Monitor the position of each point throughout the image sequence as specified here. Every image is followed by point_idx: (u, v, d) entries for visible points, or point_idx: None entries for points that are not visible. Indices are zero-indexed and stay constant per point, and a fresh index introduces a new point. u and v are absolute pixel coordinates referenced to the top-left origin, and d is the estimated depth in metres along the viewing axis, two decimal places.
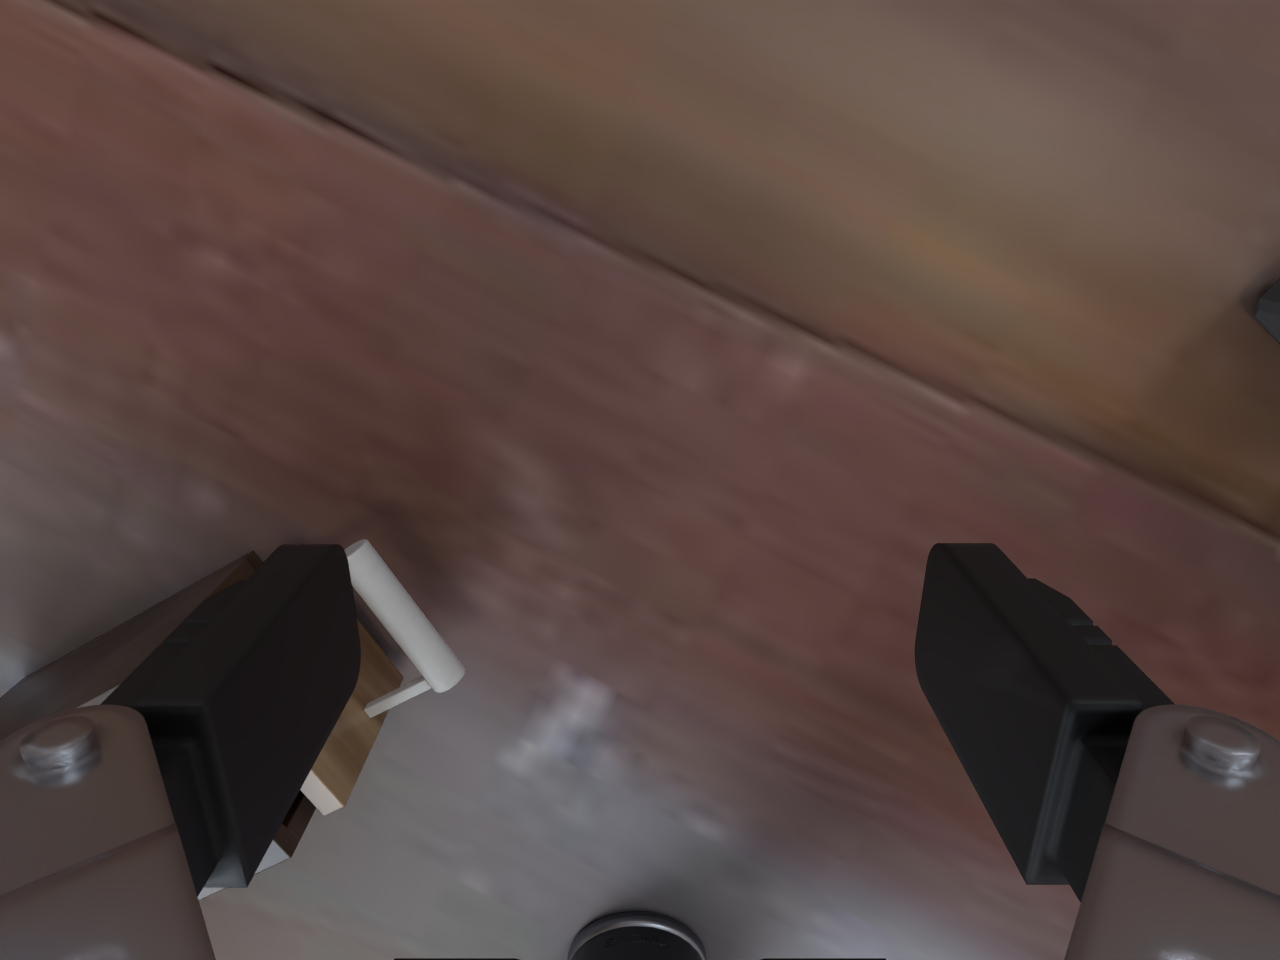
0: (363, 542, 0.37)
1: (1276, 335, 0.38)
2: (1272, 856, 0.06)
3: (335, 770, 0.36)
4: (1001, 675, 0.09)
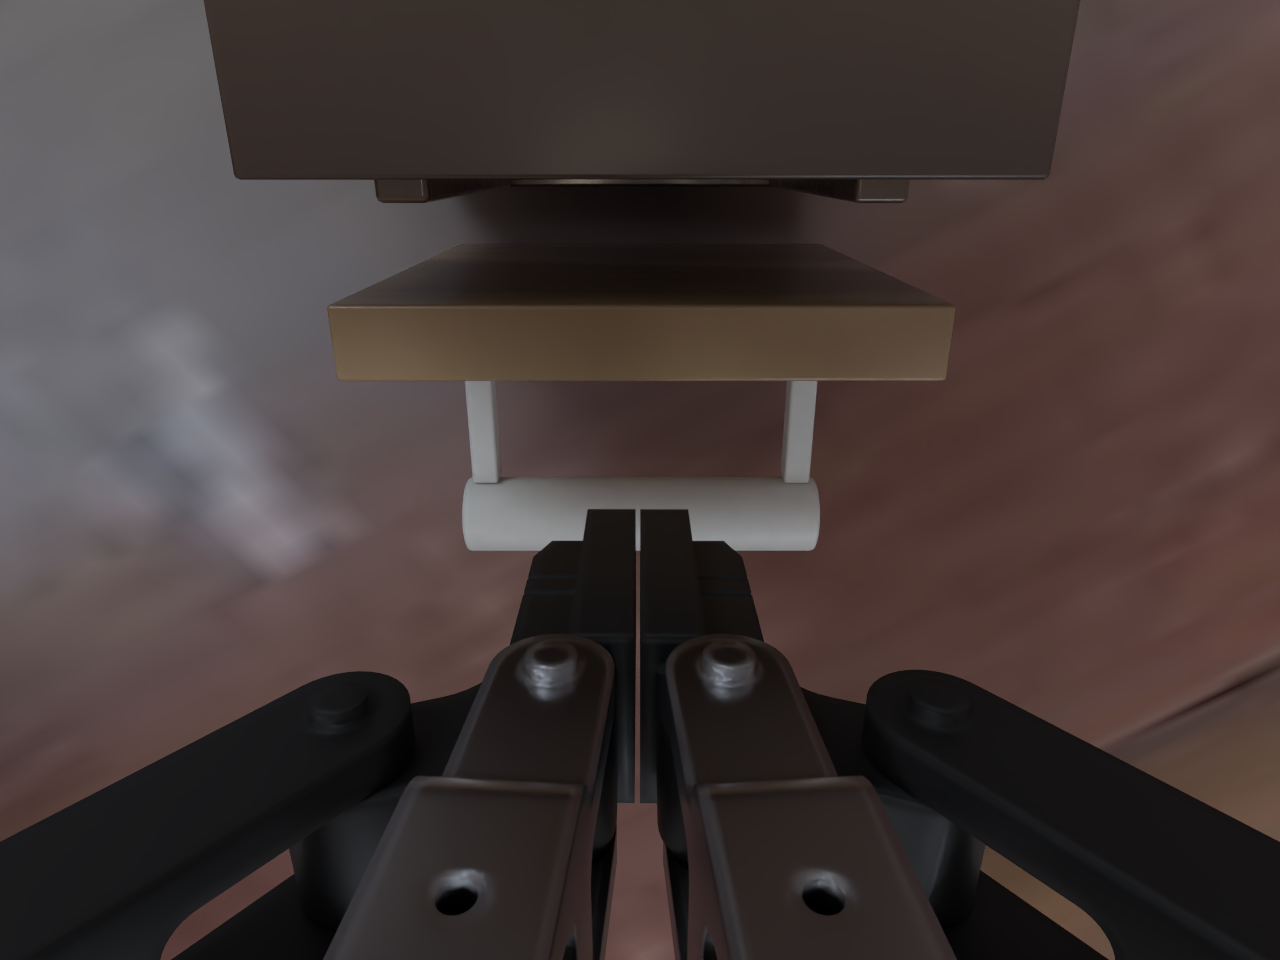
0: None
1: None
2: (702, 748, 0.07)
3: None
4: None
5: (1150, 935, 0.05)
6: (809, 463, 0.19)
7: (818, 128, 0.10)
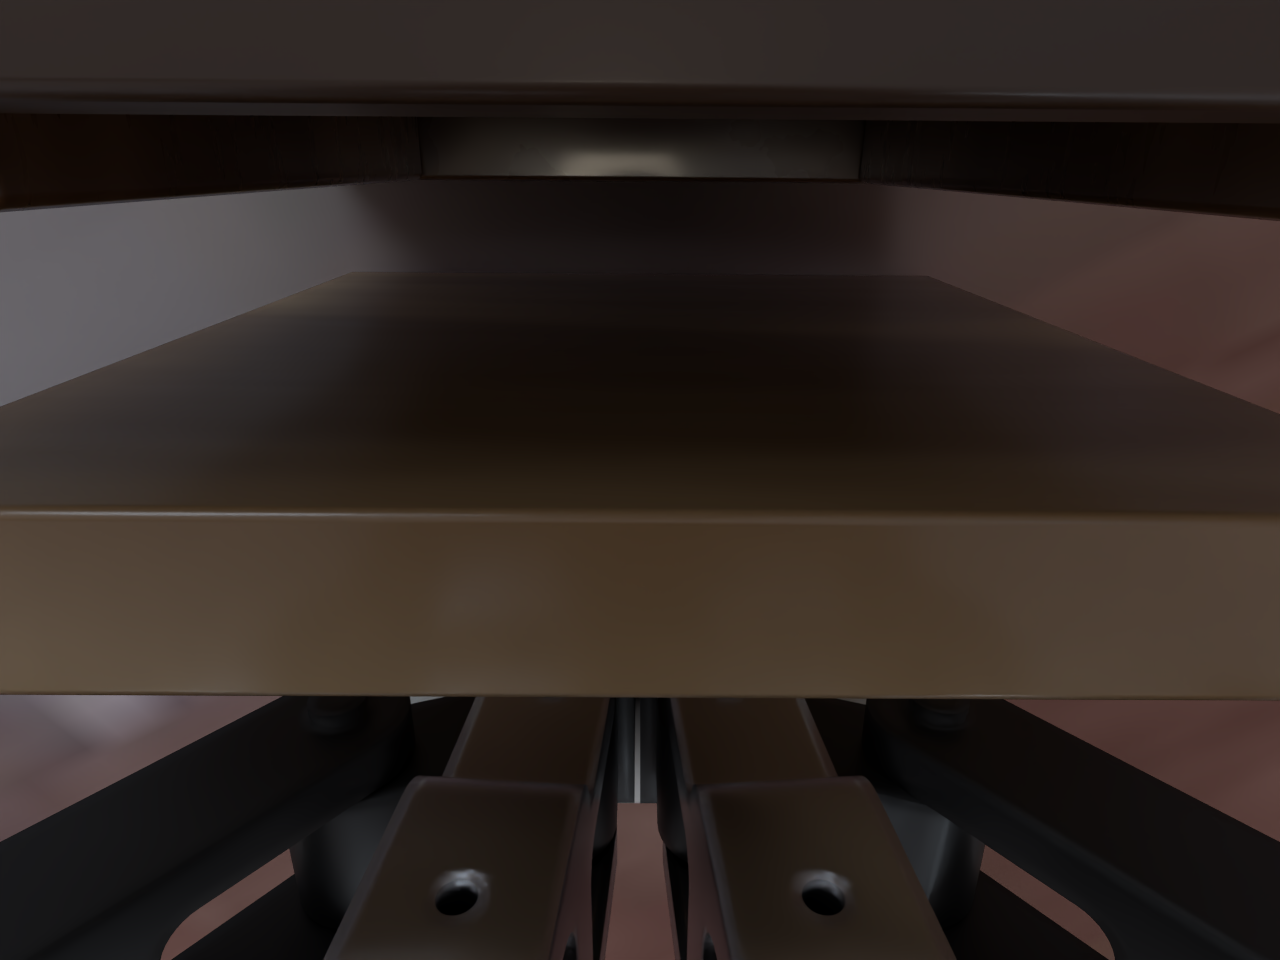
0: None
1: None
2: (702, 748, 0.07)
3: None
4: None
5: (1150, 935, 0.05)
6: None
7: None
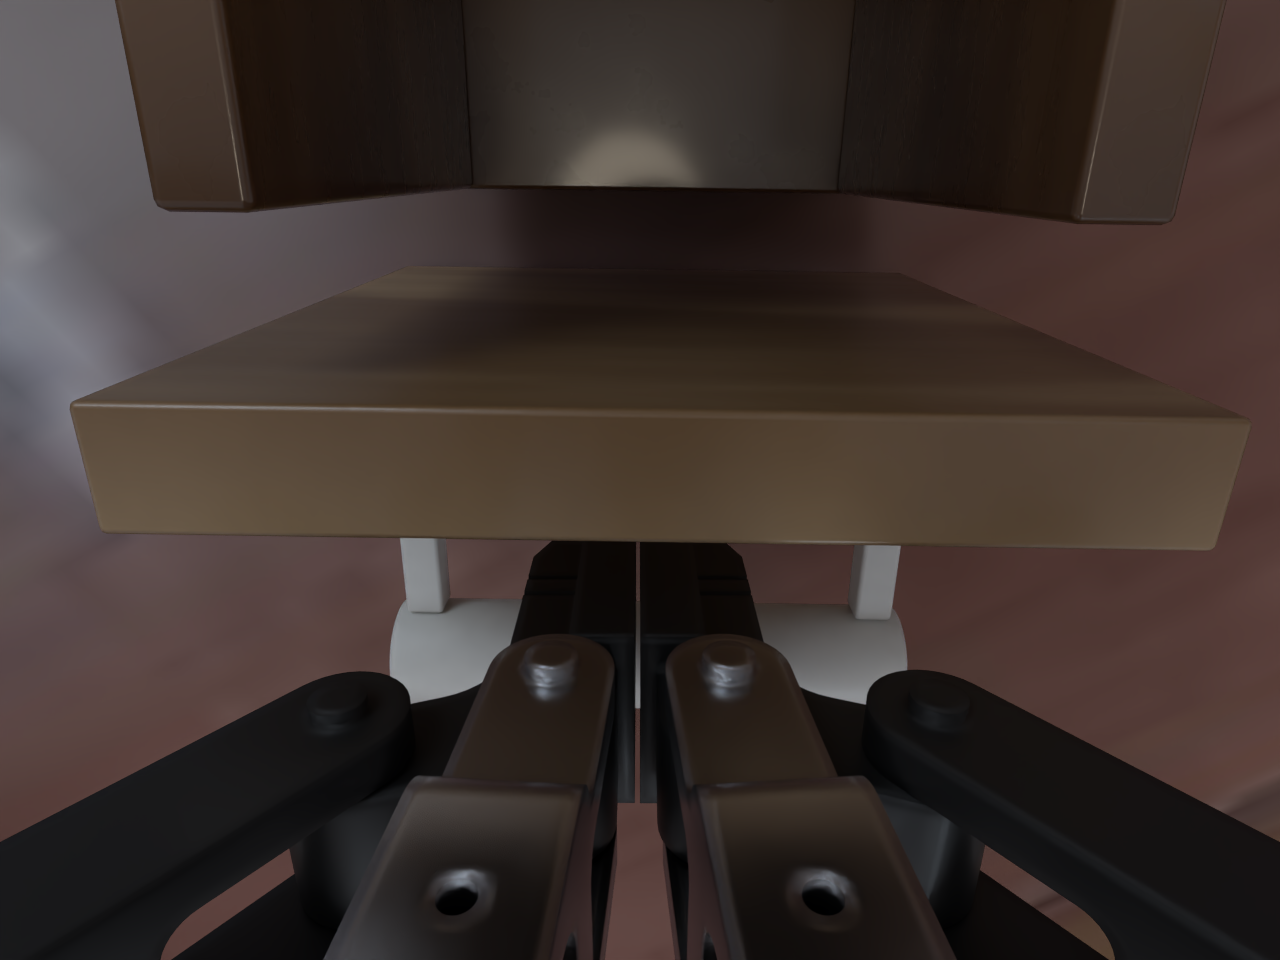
0: None
1: None
2: (702, 748, 0.07)
3: None
4: None
5: (1150, 935, 0.05)
6: (892, 593, 0.13)
7: None
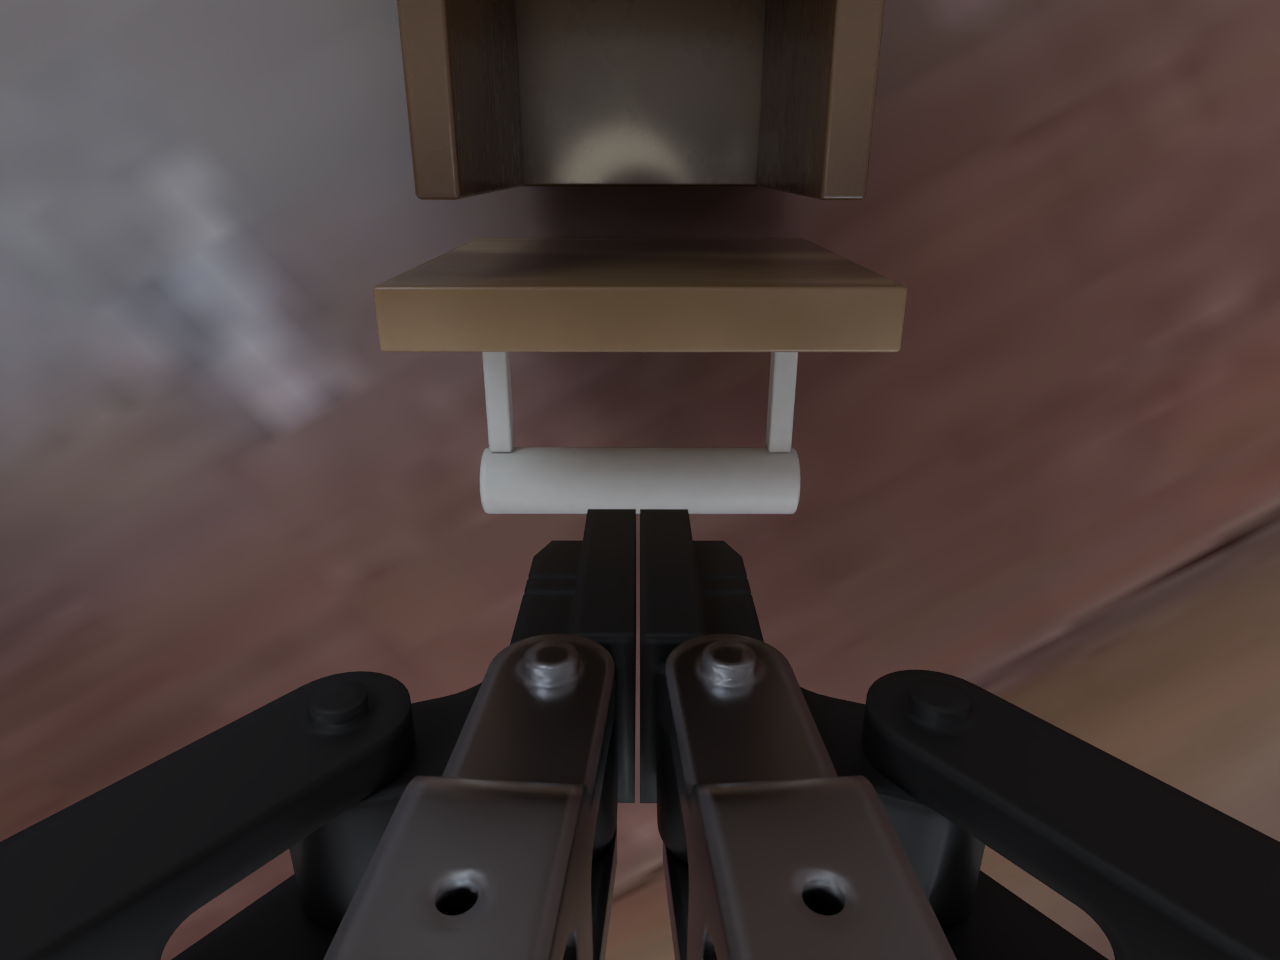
0: None
1: None
2: (702, 748, 0.07)
3: None
4: None
5: (1149, 935, 0.05)
6: (790, 434, 0.21)
7: None
